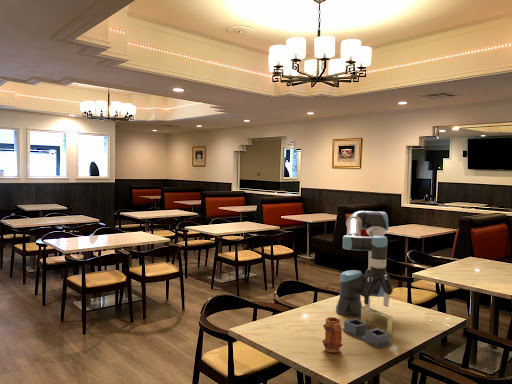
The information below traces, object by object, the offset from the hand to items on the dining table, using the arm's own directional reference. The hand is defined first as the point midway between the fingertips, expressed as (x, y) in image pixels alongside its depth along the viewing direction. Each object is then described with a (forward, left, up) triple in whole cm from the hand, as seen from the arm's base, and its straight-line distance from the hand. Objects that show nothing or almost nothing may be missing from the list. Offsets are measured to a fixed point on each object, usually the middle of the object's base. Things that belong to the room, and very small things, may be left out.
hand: (376, 308), depth 209 cm
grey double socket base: (+5, -12, -11) cm, 17 cm away
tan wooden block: (0, 0, -11) cm, 11 cm away
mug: (+10, -37, -11) cm, 40 cm away
